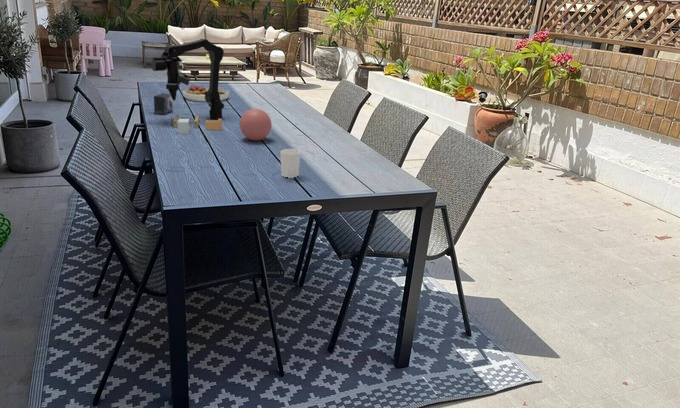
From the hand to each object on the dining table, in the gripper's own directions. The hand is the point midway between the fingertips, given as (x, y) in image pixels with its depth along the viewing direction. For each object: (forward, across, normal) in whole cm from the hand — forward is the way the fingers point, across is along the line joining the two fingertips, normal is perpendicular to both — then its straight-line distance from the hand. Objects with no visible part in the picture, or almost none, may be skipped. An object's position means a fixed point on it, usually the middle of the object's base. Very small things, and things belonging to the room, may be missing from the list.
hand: (174, 100), depth 287 cm
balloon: (+12, -36, -40) cm, 55 cm away
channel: (+12, -5, -6) cm, 14 cm away
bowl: (+12, +74, -16) cm, 77 cm away
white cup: (+12, -95, -49) cm, 108 cm away
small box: (+12, +24, +8) cm, 28 cm away
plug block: (+12, -22, -5) cm, 25 cm away
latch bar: (+12, -16, -20) cm, 28 cm away
